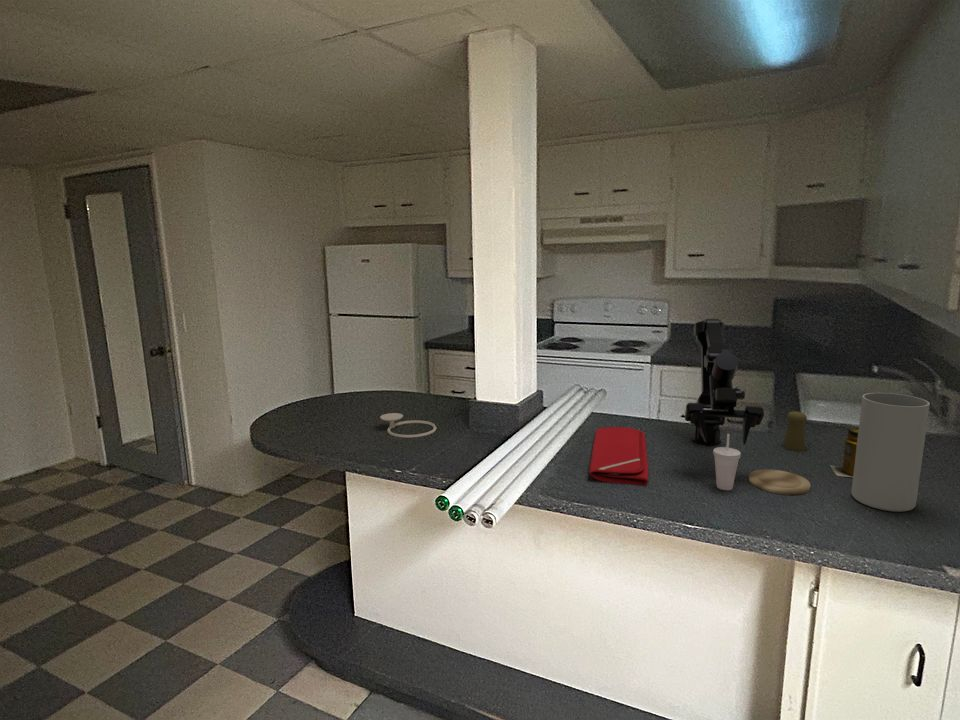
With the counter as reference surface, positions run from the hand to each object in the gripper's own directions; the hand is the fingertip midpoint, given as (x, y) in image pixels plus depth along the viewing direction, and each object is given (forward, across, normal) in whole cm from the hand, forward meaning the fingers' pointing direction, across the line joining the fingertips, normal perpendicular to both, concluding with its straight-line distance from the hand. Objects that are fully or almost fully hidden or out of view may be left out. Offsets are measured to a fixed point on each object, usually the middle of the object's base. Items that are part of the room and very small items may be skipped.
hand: (725, 442), depth 145 cm
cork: (-15, +24, +30) cm, 42 cm away
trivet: (+6, +14, +9) cm, 18 cm away
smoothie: (+10, 0, +6) cm, 12 cm away
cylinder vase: (+10, +35, +5) cm, 37 cm away
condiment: (-2, +34, +18) cm, 38 cm away
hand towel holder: (-10, -98, +25) cm, 102 cm away
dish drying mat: (-2, -26, +18) cm, 32 cm away
